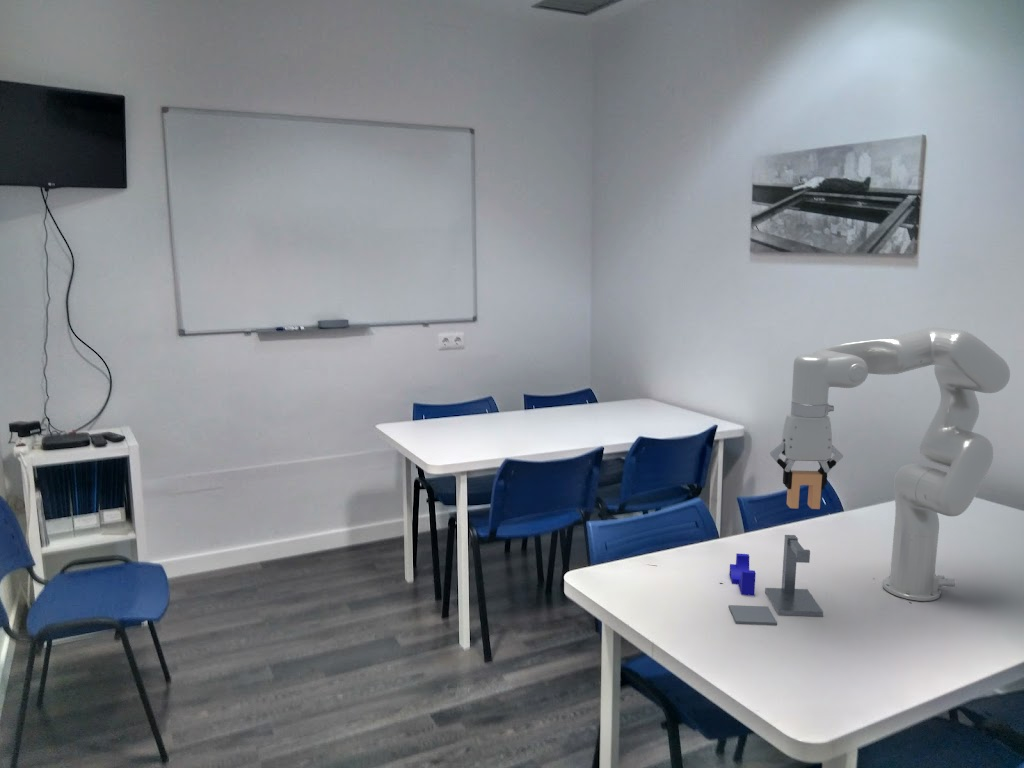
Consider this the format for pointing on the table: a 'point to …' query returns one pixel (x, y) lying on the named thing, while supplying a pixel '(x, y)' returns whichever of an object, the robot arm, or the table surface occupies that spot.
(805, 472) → the c link
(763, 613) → the mat
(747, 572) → the blue toy block
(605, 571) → the table surface
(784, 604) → the stand
